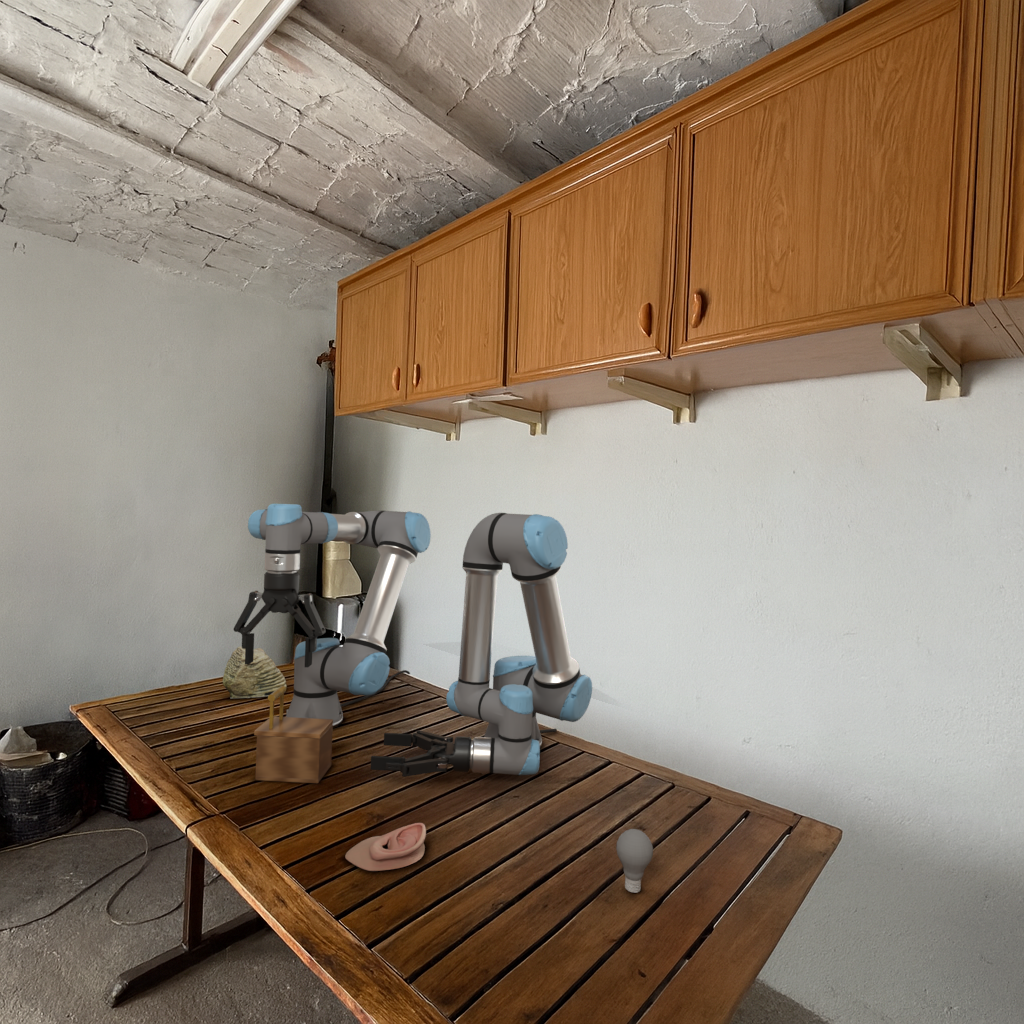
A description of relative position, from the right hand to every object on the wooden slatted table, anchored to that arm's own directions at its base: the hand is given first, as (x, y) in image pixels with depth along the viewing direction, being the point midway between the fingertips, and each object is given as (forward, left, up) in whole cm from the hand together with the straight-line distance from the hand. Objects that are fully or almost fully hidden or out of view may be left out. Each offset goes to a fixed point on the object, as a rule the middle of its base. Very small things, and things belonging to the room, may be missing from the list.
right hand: (377, 750), depth 144 cm
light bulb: (-31, +55, -6) cm, 64 cm away
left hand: (+21, -10, +18) cm, 30 cm away
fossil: (+24, -70, -6) cm, 74 cm away
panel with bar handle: (+17, -9, +4) cm, 20 cm away
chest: (+17, -9, -6) cm, 20 cm away
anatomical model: (+5, +31, -6) cm, 32 cm away
